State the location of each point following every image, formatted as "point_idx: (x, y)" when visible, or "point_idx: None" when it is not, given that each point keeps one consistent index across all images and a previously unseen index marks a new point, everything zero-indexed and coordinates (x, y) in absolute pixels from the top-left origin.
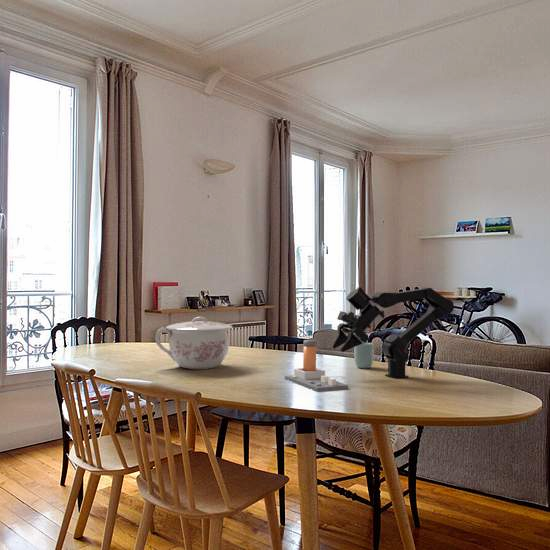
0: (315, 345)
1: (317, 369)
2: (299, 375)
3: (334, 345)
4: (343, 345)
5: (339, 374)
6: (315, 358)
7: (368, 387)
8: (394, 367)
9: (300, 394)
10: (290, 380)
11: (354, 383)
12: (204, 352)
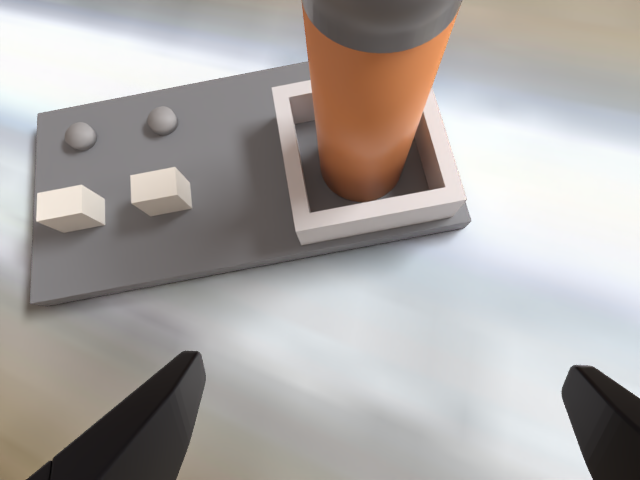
0: (324, 23)
1: (375, 200)
2: None
3: (590, 401)
4: (149, 404)
5: (545, 454)
6: (330, 124)
7: (30, 457)
8: None
9: (32, 46)
10: None
11: None
12: None
